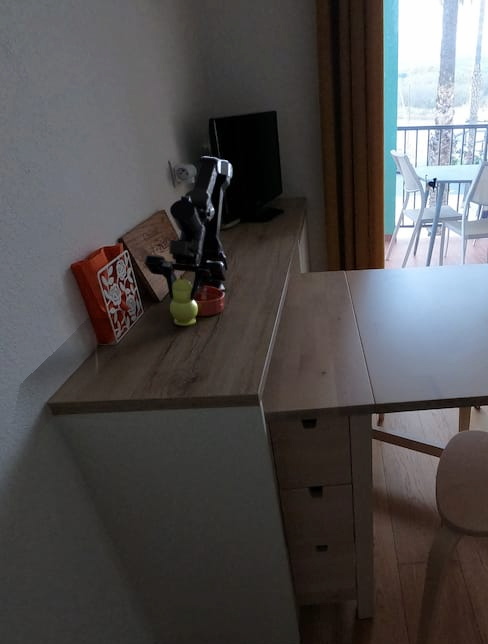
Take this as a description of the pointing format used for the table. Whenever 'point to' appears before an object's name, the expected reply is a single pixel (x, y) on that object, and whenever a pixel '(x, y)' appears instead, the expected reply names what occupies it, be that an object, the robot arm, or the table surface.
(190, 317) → the pear
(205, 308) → the bowl
